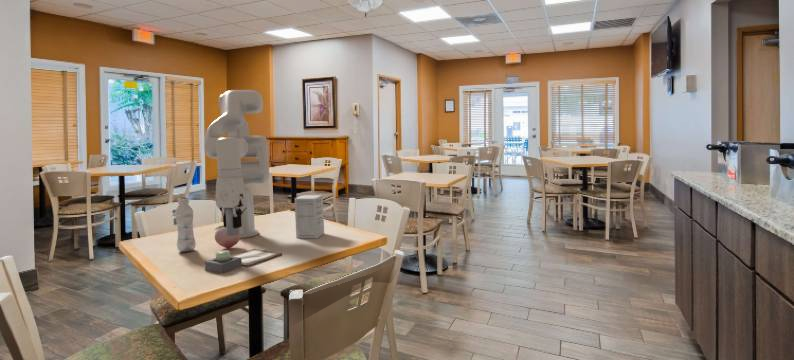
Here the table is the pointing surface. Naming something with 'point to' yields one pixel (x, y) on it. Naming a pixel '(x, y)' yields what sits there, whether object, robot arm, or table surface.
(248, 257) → the clipboard
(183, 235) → the plastic bottle
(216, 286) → the table surface
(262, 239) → the table surface
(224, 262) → the button housing
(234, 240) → the decorative fruit
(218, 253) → the button
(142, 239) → the table surface
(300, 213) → the supplement box
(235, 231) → the marker
